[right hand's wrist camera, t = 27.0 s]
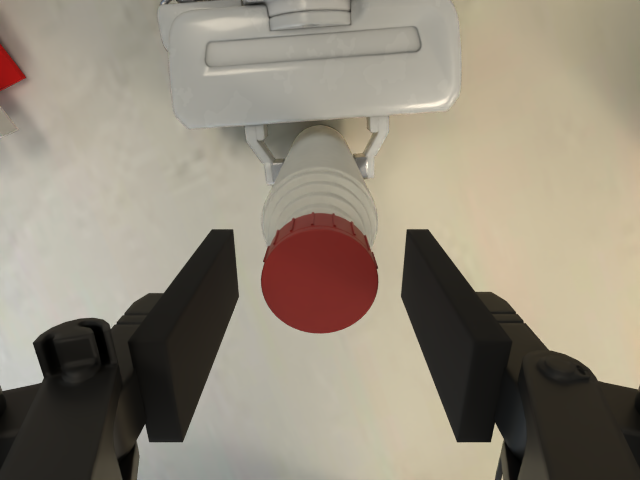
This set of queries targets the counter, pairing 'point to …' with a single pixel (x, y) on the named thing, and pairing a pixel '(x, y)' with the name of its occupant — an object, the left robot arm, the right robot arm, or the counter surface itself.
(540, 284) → the counter surface
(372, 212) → the bottle
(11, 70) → the toy
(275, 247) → the cap
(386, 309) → the counter surface
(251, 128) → the left robot arm
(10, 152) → the counter surface
